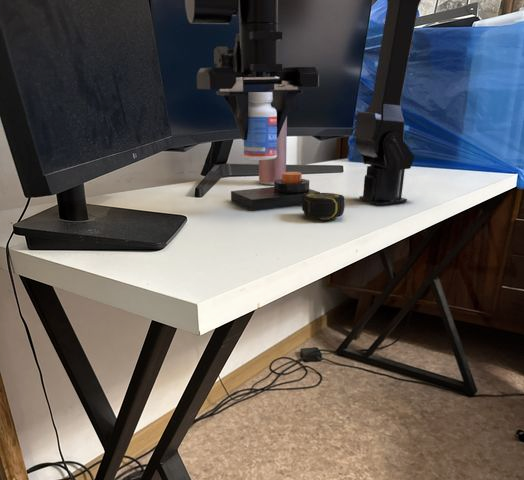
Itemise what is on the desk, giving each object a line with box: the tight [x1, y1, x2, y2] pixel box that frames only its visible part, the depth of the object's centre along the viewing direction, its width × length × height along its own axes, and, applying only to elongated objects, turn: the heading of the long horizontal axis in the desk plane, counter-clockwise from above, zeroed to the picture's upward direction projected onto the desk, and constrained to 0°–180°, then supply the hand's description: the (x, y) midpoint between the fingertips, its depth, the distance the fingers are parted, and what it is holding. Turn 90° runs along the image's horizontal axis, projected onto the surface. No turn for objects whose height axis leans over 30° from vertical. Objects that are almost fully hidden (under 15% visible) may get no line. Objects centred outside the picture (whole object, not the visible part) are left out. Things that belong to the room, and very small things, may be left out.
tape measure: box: [300, 192, 346, 221], centre depth 83 cm, size 7×7×4 cm
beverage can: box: [258, 116, 288, 186], centre depth 110 cm, size 6×6×15 cm
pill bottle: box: [243, 91, 277, 161], centre depth 82 cm, size 6×5×10 cm
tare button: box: [282, 171, 303, 183], centre depth 95 cm, size 4×4×2 cm
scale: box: [230, 178, 321, 212], centre depth 94 cm, size 14×9×4 cm, turn 117°
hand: (260, 138), depth 83 cm, fingers closed on pill bottle, 5 cm apart
